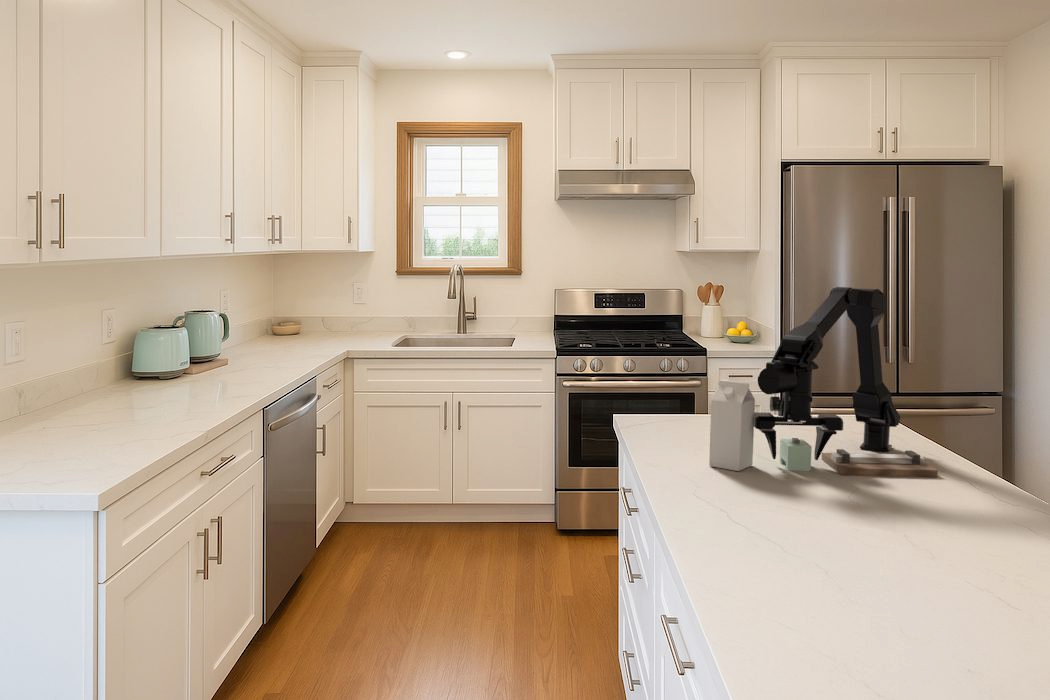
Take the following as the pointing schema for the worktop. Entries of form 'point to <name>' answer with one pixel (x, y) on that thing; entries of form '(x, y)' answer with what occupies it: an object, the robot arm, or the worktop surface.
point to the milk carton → (732, 426)
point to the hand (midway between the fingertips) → (794, 459)
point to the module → (795, 454)
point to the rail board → (879, 464)
